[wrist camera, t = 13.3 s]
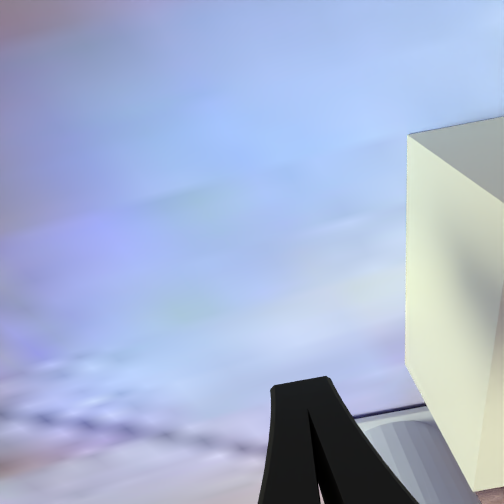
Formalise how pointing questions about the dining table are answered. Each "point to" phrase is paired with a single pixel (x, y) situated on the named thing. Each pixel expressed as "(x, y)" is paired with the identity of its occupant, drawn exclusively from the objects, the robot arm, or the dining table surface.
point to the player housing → (458, 289)
